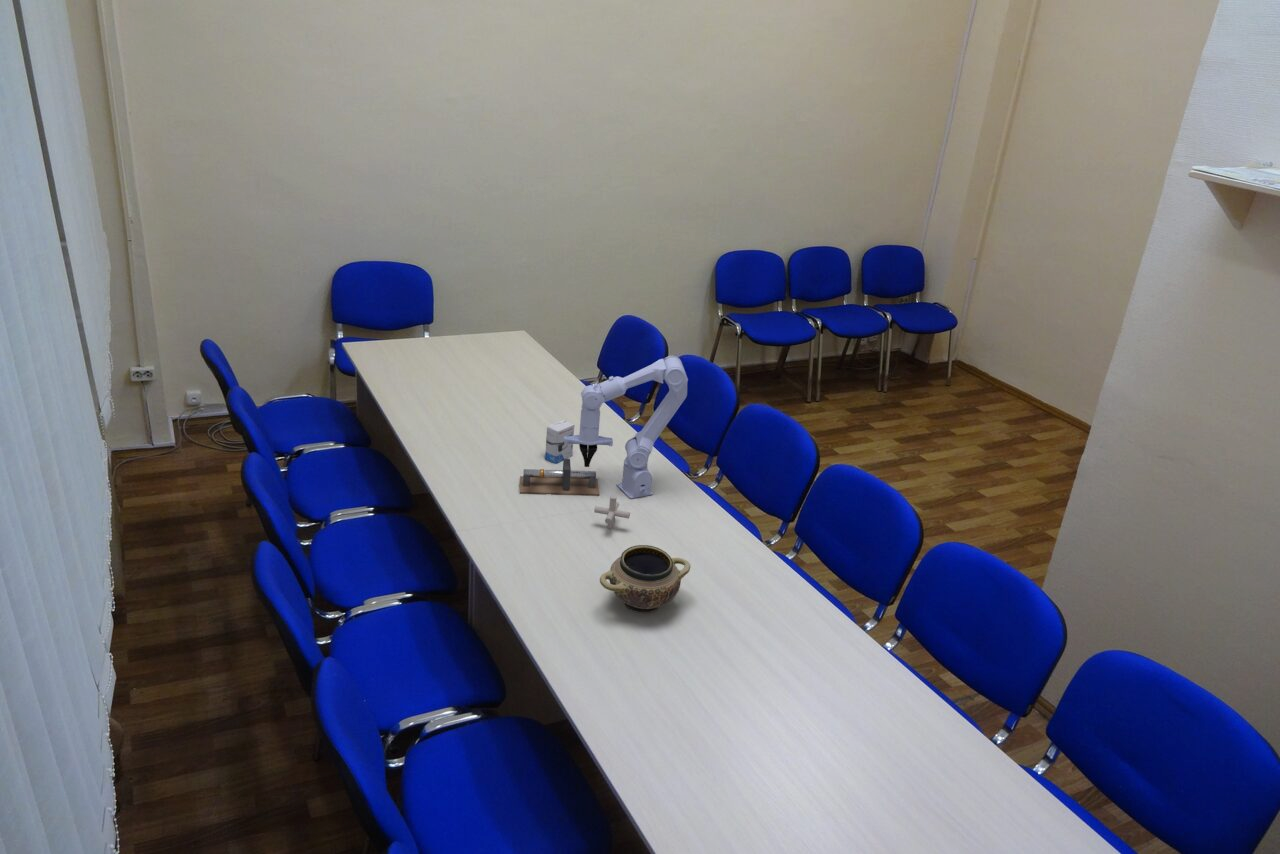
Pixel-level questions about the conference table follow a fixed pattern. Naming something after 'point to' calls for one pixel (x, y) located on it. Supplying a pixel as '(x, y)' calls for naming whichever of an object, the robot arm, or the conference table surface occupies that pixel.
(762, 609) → the conference table surface
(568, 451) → the ink box
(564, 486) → the rubber collar
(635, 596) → the ceramic bowl
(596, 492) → the walnut board
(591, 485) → the steel pipe
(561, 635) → the conference table surface
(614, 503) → the pipe connector
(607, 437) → the robot arm
